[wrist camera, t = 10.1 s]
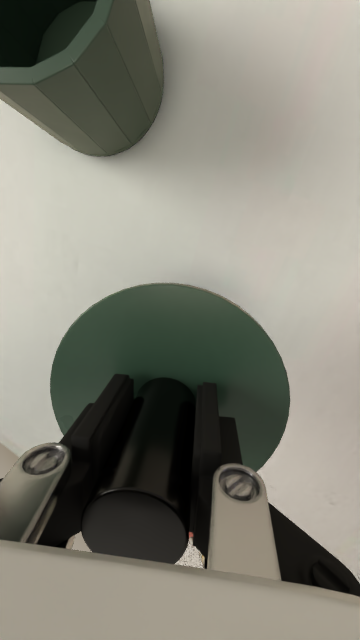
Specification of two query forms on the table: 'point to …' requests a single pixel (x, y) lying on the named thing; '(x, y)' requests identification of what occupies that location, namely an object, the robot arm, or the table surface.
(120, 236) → the table surface
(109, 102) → the trash can
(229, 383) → the trash can lid
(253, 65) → the table surface
